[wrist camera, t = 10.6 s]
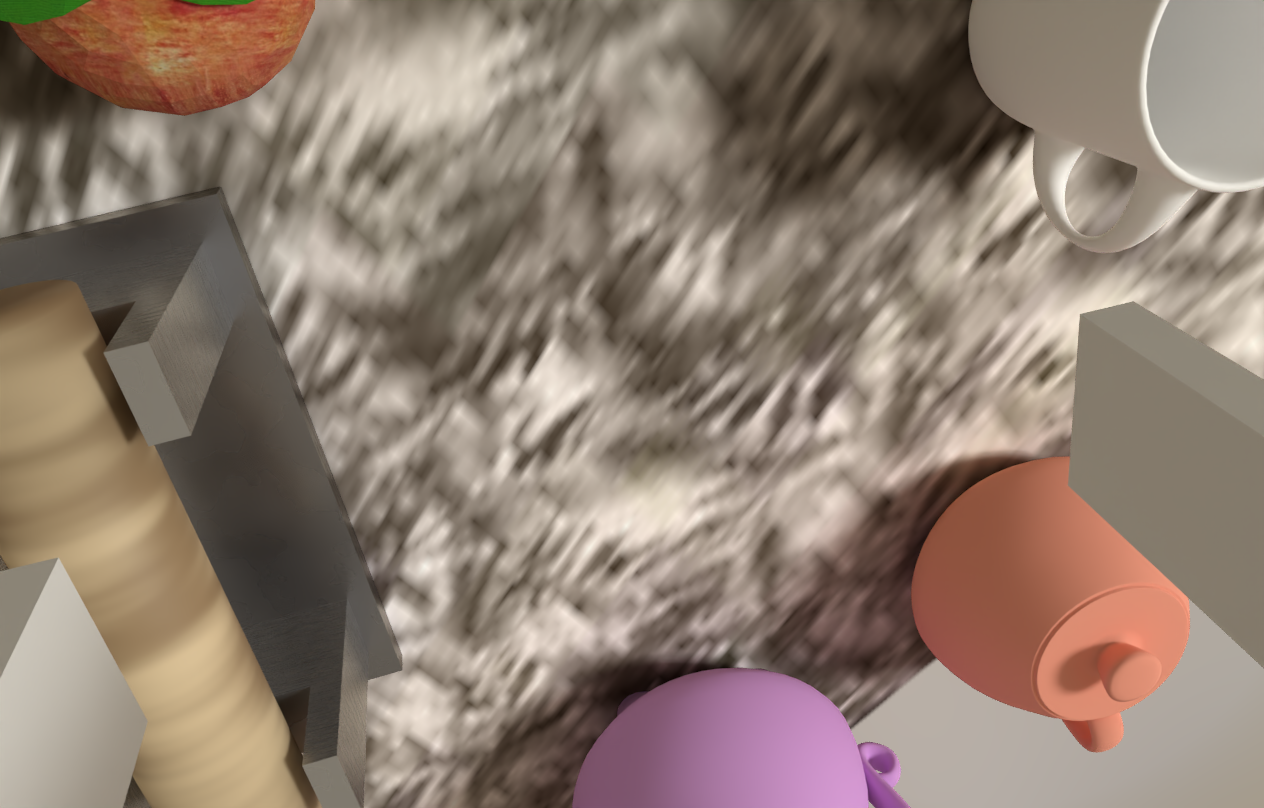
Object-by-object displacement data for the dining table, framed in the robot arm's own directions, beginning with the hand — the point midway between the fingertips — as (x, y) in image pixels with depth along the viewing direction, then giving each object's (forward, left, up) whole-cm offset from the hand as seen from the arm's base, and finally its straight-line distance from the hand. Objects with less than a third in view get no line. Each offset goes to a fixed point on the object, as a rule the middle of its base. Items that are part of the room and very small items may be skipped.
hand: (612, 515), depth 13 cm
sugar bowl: (+27, +20, -27) cm, 43 cm away
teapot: (+33, +2, -27) cm, 42 cm away
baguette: (+11, -15, -21) cm, 28 cm away
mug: (+3, +22, -27) cm, 35 cm away
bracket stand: (+11, -15, -27) cm, 32 cm away
